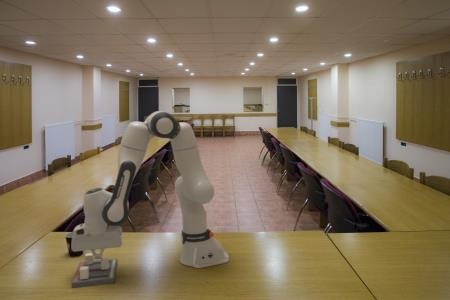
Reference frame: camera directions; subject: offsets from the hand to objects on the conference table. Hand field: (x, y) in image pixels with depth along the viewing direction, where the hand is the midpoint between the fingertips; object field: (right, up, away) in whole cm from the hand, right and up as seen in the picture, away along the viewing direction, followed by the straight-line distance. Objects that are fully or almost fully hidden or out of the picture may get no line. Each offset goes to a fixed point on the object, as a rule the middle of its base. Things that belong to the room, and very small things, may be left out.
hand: (98, 258), depth 155 cm
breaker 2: (-6, -4, +6) cm, 9 cm away
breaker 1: (-3, -5, -8) cm, 10 cm away
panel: (-1, -7, 0) cm, 7 cm away
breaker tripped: (+3, -4, +1) cm, 5 cm away
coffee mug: (-18, -5, +21) cm, 28 cm away
